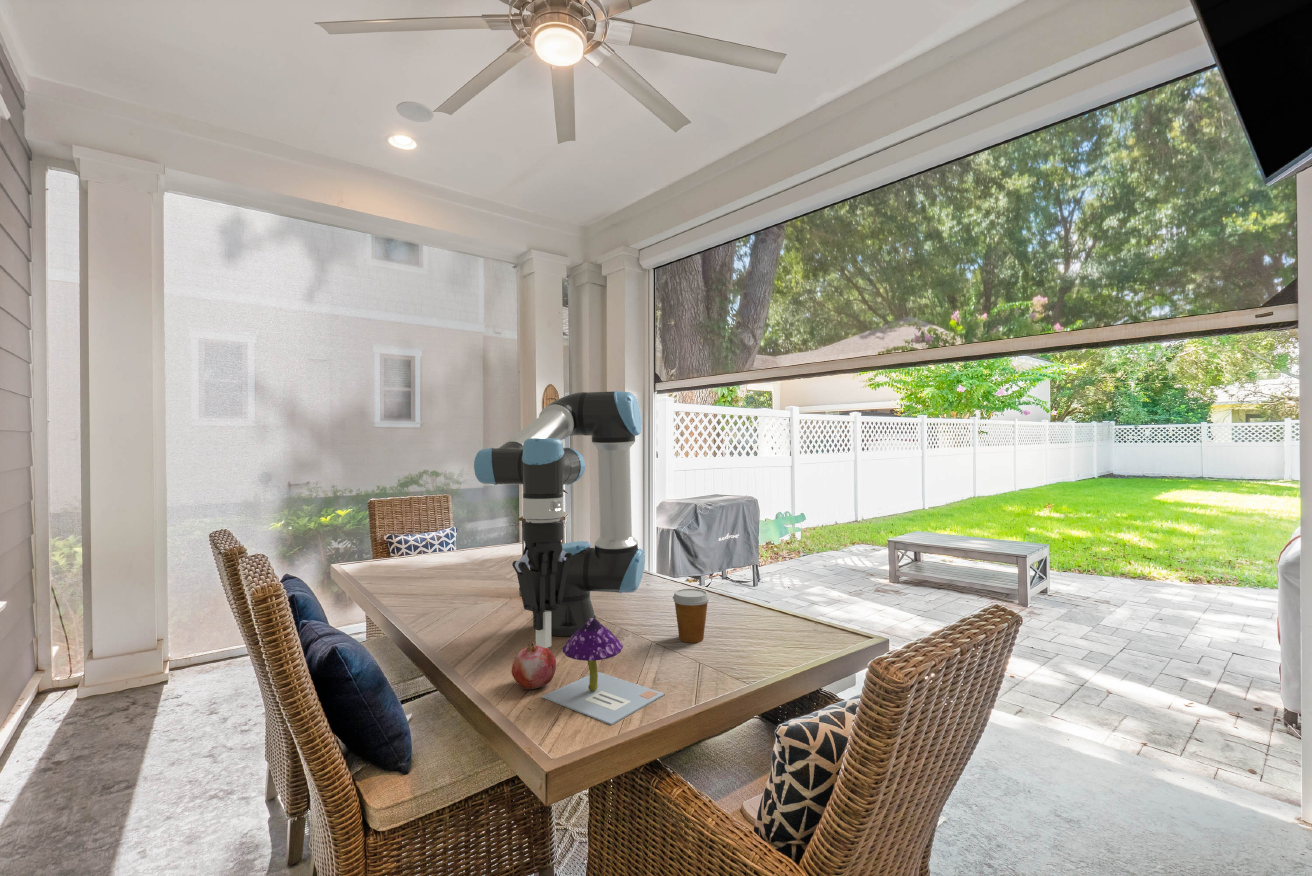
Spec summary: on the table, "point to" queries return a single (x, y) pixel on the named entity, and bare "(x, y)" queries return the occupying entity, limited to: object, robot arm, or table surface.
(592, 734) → the table surface
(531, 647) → the fruit
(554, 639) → the table surface
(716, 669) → the table surface
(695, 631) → the disposable coffee cup
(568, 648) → the decorative mushroom
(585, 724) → the table surface
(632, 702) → the letter
